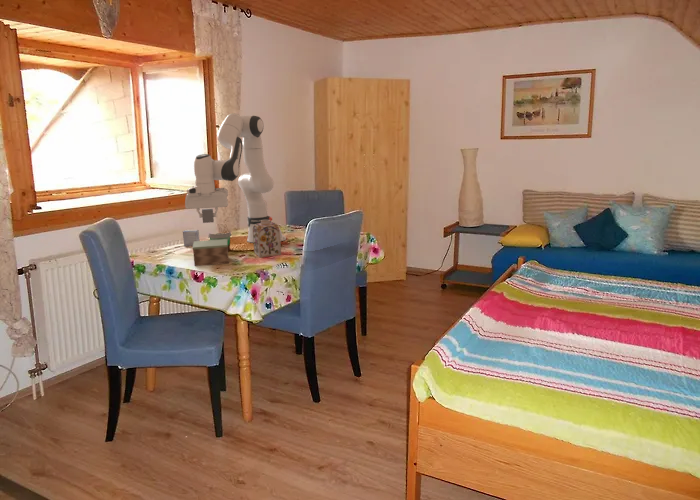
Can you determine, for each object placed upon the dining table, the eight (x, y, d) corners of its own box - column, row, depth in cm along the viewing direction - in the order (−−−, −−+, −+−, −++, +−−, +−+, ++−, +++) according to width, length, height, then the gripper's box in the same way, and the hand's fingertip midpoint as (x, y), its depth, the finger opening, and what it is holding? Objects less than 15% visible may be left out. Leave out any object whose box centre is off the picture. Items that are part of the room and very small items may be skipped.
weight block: (213, 220, 268) (212, 208, 267) (213, 222, 264) (212, 210, 262) (203, 221, 267) (202, 209, 266) (202, 222, 262) (201, 210, 261)
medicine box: (200, 244, 311) (198, 229, 309) (197, 246, 307) (195, 231, 305) (186, 244, 312) (185, 229, 310) (183, 246, 308) (182, 231, 306)
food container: (212, 253, 286) (210, 235, 284) (209, 251, 292) (208, 233, 290) (235, 250, 292) (233, 232, 290) (232, 248, 297) (230, 230, 295)
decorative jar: (253, 253, 286) (251, 219, 281) (275, 250, 290) (273, 217, 286) (259, 257, 275) (257, 222, 271) (281, 255, 279) (279, 220, 275)
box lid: (227, 241, 275) (227, 239, 275) (227, 246, 264) (227, 244, 264) (193, 243, 272) (193, 241, 272) (192, 249, 261) (192, 247, 260)
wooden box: (228, 257, 277) (227, 242, 275) (228, 263, 266) (227, 247, 264) (195, 260, 274) (194, 244, 272) (194, 265, 263) (193, 249, 261)
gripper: (227, 186, 267) (229, 214, 270) (184, 189, 263) (187, 217, 266) (227, 188, 261) (229, 216, 264) (183, 190, 257) (186, 219, 260)
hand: (207, 217), depth 265 cm, fingers closed on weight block, 5 cm apart
